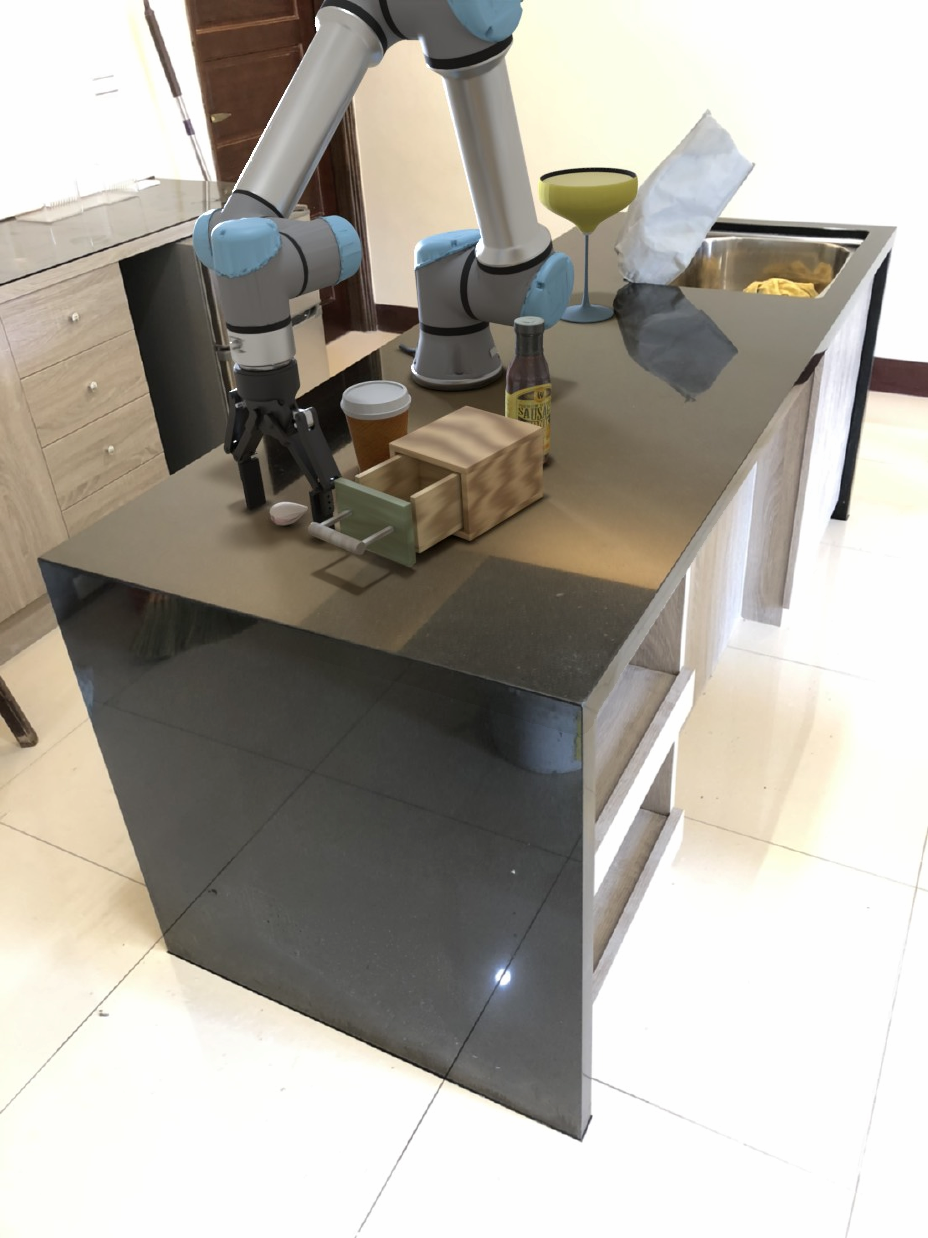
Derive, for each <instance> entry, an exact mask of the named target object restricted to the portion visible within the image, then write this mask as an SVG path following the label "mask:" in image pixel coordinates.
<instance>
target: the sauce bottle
mask: <svg viewBox="0 0 928 1238" xmlns="http://www.w3.org/2000/svg"><path fill="white" fill-rule="evenodd" d="M513 331H514V334H515V337H514V339H515V340H514V341H515V342H514V356H513V358H512V359H511V360H510V362H509V363H508V366H507V369H506V374H505V375H506V376H505V379H506V380H505V383H506V384H505V385H506V386H505V393H504V394H505V402H504V403H505V404H504V407H505V409H504V413H505V414H504V415H505V417H508V418H512V419H515V420H519V421H522V422H526V423H530V424H533V425H537V426H540V427H542V443H543V465H544V464H546V463H547V462H548V459H549V452H550V449H551V448H550V447H551V445H550V444H551V411H552V410H551V409H552V408H551V407H552V379H551V373H550V369H549V364H548V361H547V360H546V357H545V354H544V351H545V350H544V333H545V331H546V330H545V321H544V319H542V318H540V317H532V316H527V317H520V318H517V319H515V321H514V327H513Z"/></svg>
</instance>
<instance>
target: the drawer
mask: <svg viewBox="0 0 928 1238" xmlns="http://www.w3.org/2000/svg"><path fill="white" fill-rule="evenodd" d="M334 485H335V489H334V491H335V499H336V506H337V514H336V515H333V516H334V517H332V518H330V519H328V520H326V521H324V522H322V523H321V524H319V523H316V522H313V521H312V522H310V524H309V525H308V528H307V529H308V530H307V531H308V534H309V535H310V536H312V537H314V538H315V537H317V538H319V539H321V540H322V541H324V542H326V543H328V544H331V545H333V546H335V547H338V548H339V549H343V550H344V551H347V552H349V553H352V554H354V555H356V556H362V555H363V554H365V551H366V550H368V551H371V552H373V553H374V554H375V553H376V554H377V555H380V556H383V557H385V558H388V559H390V560H392V561H395V562H397V563H399V564H402V565H403V566H405V567H408V568H410V567H413V566H414V565H415V564H417V556H416V553H418V554H421V553H423V552H424V551H426V550H428V549H429V548H432V547H433V546H435V545H436V544H437V543H439V542H441V541H443V540H444V539H446V538H447V537H449V536H451V535H453V533H454V532H456V531H458V530H459V529H461V528H463V527H464V518H463V501H462V484H461V473H458V472H455V471H452V470H449V469H446V468H443V467H440V466H437V465H434V464H431V463H428V462H425V461H422V460H419V459H416V458H413V457H410V456H407V455H404V454H401V453H400V454H398V455H396V456H394V457H392V458H390V459H388V460H386V461H384V462H382V463H380V464H378V465H376V466H374V467H372V468H370V469H368V470H366V471H364V472H362V473H360V472H359V474H356V475H355V476H354V481H352V480H351V479H347V478H345V477H343V476H342V477H340V478H338V479H336V480H334ZM337 523H339V529H340V531H338V530H336V529H335V530H333V529H331V528H328V527H329V526H331V525H333V524H337ZM321 540H320V541H321Z"/></svg>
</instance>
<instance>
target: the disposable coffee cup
mask: <svg viewBox="0 0 928 1238" xmlns="http://www.w3.org/2000/svg"><path fill="white" fill-rule="evenodd" d="M411 403H412V396H411V394H409V391H408V389H407V387H406V386H405V385H404V384H402V383H400V382H397V381H392V380H369V381H363V382H360V383H355V384H353V385H351V386H349V387H348V388H346V389H345V390H344V392H343V393H342V398H341V401H340V405H339V406H340V408H341V410H342V411H343V413H344V414H345V418H346V422H347V423H346V424H347V427H348V430H349V434H350V438H351V442H352V445H353V450H354V454H355V457H356V461H357V466H358V470H359V474H360V473H362V472H364V471H366V470H368V469H370V468H372V467H374V466H376V465H378V464H380V463H382V462H384V461H386V460H388V459H390V449H389V443H391V442H393V441H395V440H397V439H399V438H401V437H403V436H405V435H407V434H408V426H409V425H408V424H409V408H410V406H411Z"/></svg>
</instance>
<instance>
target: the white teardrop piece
mask: <svg viewBox="0 0 928 1238" xmlns="http://www.w3.org/2000/svg"><path fill="white" fill-rule="evenodd" d="M308 510H309V507H308V506H306V505H302V504H300V503H296V502H291V501H282V502H278V503H277V502H276V503H275V504H273V505H272V506H271V507H270V510H269V514H270V520H271V521H272V523H274V524H275V525H277V526H288V525H289V526H290V525H292V524H294V523H296V522H297V521H298V520H299V519H300V518H301V517H302V516H303V515H305V513H306V512H307V511H308Z"/></svg>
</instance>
